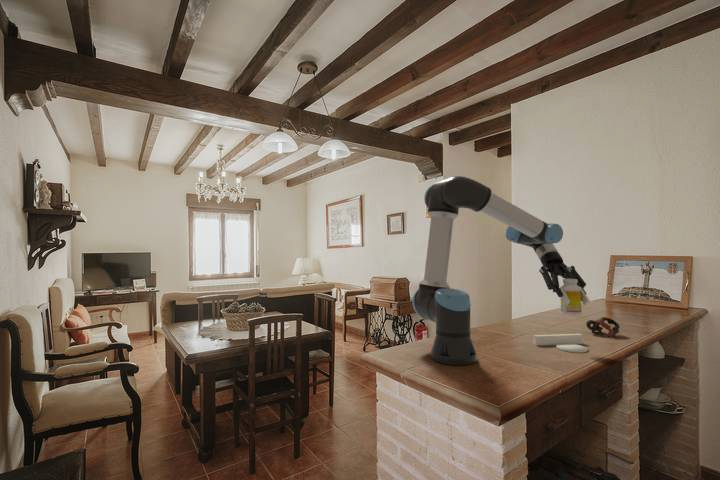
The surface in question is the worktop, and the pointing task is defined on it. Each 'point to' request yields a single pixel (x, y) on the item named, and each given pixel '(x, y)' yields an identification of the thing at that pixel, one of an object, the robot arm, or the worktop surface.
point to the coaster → (572, 348)
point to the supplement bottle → (572, 297)
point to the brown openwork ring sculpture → (603, 324)
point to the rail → (558, 339)
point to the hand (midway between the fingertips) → (577, 303)
